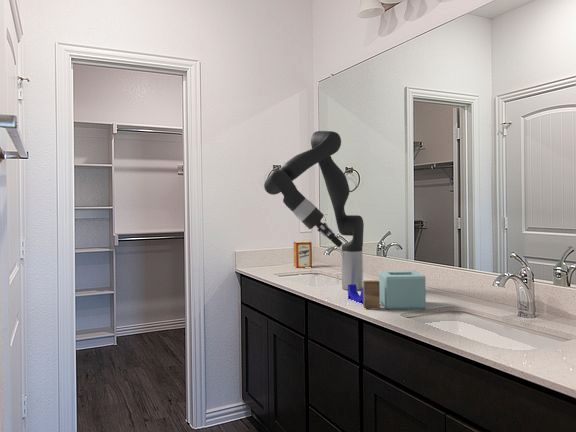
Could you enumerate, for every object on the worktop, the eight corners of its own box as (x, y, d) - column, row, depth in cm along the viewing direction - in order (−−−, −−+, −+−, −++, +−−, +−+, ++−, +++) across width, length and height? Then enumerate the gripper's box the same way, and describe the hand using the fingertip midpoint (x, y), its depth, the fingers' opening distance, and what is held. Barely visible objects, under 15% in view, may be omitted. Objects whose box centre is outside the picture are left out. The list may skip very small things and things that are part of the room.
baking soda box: (308, 266, 278) (308, 240, 278) (311, 268, 272) (311, 241, 271) (293, 267, 276) (293, 241, 275) (296, 268, 269) (296, 242, 269)
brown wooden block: (363, 307, 167) (363, 280, 167) (378, 307, 167) (377, 280, 167) (364, 309, 164) (364, 281, 164) (379, 309, 164) (379, 281, 164)
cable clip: (373, 304, 172) (373, 288, 172) (363, 305, 171) (363, 289, 171) (357, 298, 184) (357, 283, 183) (348, 299, 182) (347, 284, 182)
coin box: (379, 301, 176) (379, 271, 176) (415, 301, 176) (414, 270, 176) (386, 309, 162) (386, 276, 162) (425, 309, 162) (425, 276, 162)
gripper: (316, 206, 158) (349, 238, 158) (314, 206, 172) (344, 236, 172) (301, 221, 158) (334, 253, 158) (300, 220, 172) (330, 250, 172)
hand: (339, 244), depth 165 cm, fingers open, 8 cm apart
